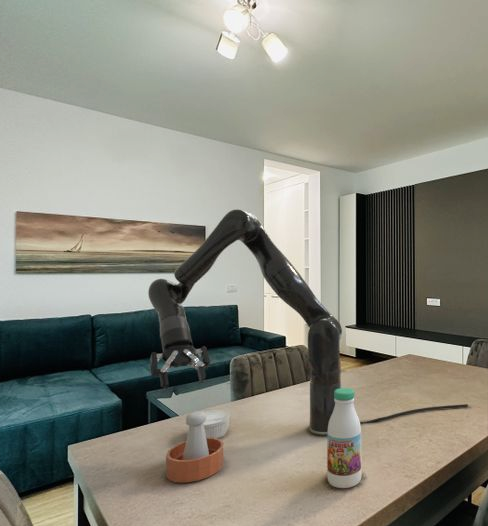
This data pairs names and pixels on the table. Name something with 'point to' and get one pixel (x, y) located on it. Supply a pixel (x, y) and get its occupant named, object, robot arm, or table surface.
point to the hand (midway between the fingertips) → (184, 384)
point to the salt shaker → (196, 437)
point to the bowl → (194, 462)
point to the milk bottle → (344, 442)
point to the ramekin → (216, 423)
